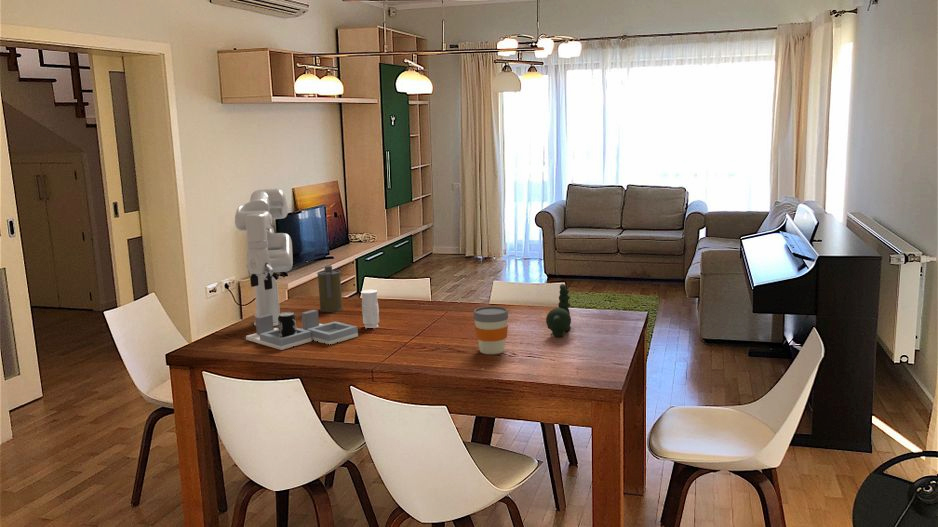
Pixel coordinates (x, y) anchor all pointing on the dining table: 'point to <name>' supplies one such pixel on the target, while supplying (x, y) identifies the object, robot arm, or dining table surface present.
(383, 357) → the dining table surface
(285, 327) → the beverage can
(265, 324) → the grey tray
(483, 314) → the reusable coffee cup
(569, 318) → the toy figurine
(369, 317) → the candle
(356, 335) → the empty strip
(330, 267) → the canister
